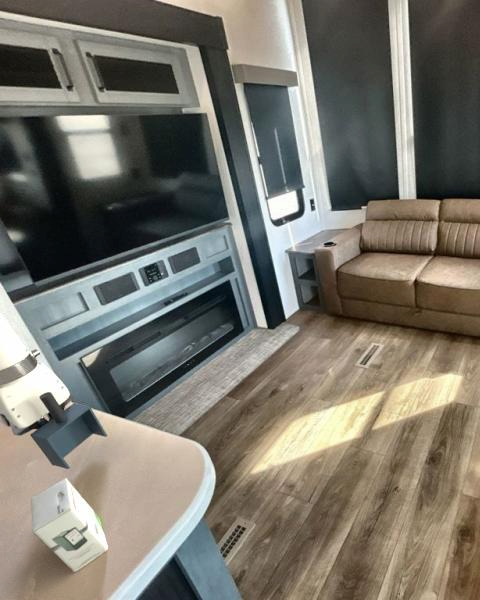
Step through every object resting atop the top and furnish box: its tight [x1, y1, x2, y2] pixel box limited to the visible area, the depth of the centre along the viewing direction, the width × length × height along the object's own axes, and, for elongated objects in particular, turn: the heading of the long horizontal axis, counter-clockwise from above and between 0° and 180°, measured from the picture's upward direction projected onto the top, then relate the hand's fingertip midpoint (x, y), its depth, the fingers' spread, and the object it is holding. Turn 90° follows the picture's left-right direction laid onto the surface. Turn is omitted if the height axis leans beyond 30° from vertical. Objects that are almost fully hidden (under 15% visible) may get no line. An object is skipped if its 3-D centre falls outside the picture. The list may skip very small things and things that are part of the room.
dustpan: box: [29, 392, 108, 470], centre depth 75 cm, size 16×9×4 cm
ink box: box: [30, 477, 109, 573], centre depth 60 cm, size 9×5×12 cm, turn 45°
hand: (61, 436), depth 79 cm, fingers closed
